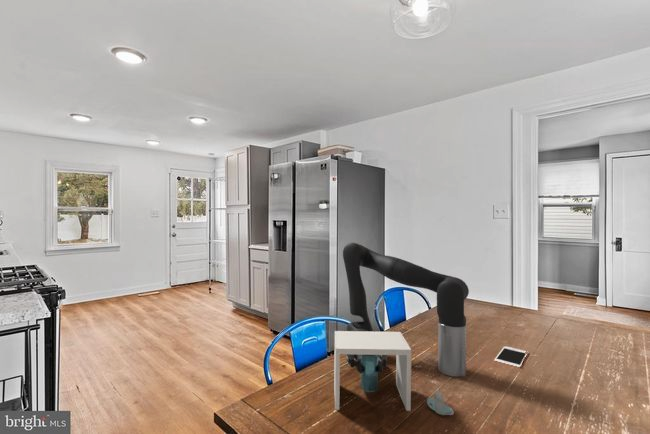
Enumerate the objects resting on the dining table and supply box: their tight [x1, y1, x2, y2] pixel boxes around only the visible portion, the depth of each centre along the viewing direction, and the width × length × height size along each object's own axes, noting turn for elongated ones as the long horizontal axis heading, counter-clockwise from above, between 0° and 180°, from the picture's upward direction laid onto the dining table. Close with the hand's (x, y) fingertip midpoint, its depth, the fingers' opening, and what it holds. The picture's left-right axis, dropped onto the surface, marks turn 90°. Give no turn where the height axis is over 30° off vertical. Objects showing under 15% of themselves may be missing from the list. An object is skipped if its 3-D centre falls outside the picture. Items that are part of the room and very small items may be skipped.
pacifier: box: [426, 389, 455, 416], centre depth 93 cm, size 7×6×6 cm
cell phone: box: [493, 346, 528, 367], centre depth 128 cm, size 9×18×1 cm, turn 139°
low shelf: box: [333, 330, 412, 412], centre depth 99 cm, size 14×22×18 cm, turn 90°
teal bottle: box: [360, 355, 379, 393], centre depth 100 cm, size 5×5×12 cm
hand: (370, 370), depth 98 cm, fingers closed on teal bottle, 5 cm apart
